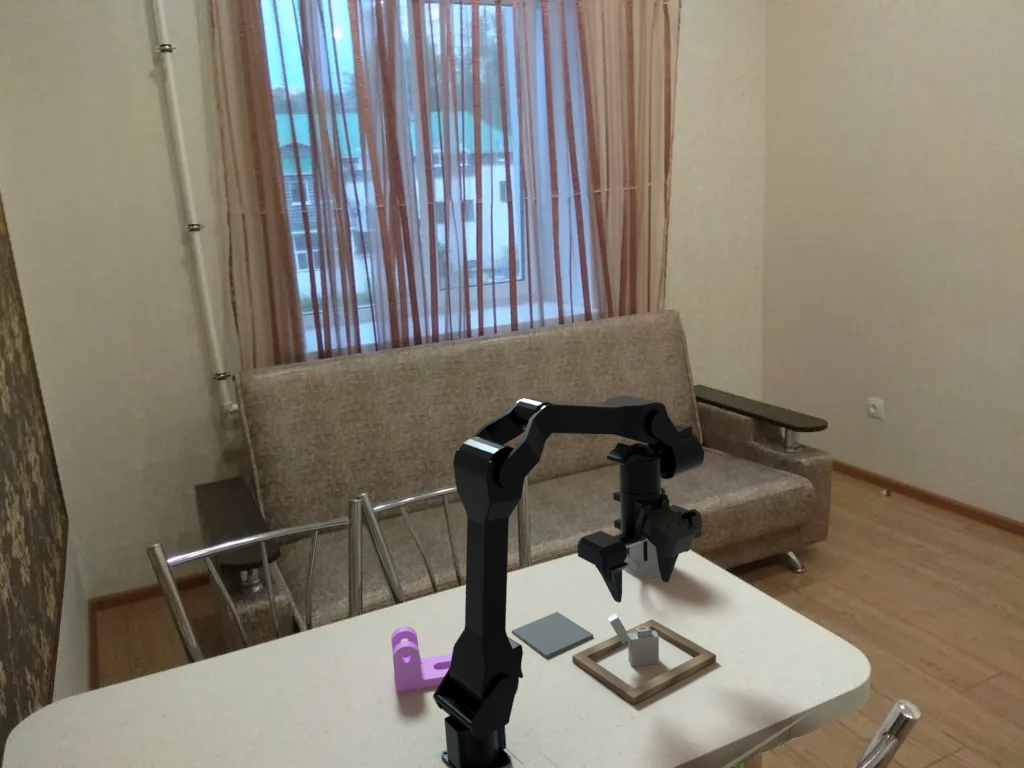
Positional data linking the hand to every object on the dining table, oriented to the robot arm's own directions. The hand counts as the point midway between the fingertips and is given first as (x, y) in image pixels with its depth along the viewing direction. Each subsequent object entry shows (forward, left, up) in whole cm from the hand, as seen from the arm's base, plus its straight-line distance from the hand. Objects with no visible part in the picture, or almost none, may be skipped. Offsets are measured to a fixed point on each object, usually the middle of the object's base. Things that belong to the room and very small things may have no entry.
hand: (641, 591), depth 113 cm
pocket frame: (0, 0, -11) cm, 11 cm away
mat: (-6, +14, -11) cm, 19 cm away
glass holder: (+18, +20, -11) cm, 29 cm away
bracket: (-24, +16, -12) cm, 32 cm away
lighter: (-1, +1, -11) cm, 11 cm away
